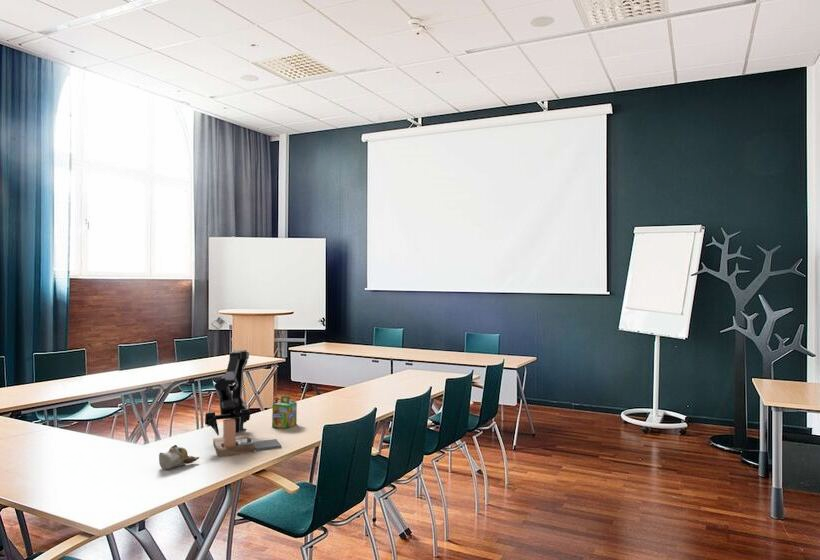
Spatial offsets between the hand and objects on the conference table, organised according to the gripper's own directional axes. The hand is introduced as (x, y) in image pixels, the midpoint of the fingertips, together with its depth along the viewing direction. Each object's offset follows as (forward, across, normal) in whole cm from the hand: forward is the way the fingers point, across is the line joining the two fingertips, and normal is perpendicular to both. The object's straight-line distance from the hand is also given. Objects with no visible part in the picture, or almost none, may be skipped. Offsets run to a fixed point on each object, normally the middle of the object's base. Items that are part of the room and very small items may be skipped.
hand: (229, 433), depth 247 cm
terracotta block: (+5, 0, +6) cm, 7 cm away
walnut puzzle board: (+3, +2, +8) cm, 8 cm away
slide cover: (+3, +6, +4) cm, 8 cm away
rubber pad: (+5, +16, +6) cm, 17 cm away
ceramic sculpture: (+14, -22, -3) cm, 26 cm away
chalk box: (-17, +30, +28) cm, 44 cm away
